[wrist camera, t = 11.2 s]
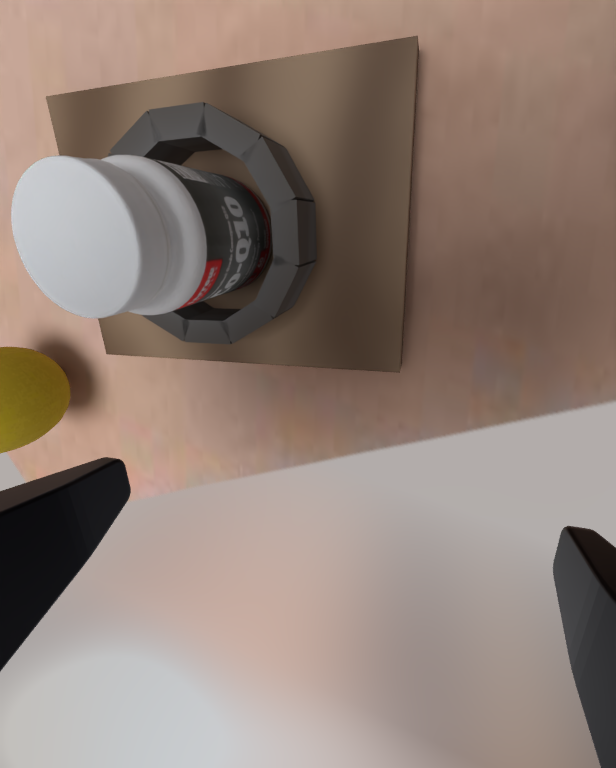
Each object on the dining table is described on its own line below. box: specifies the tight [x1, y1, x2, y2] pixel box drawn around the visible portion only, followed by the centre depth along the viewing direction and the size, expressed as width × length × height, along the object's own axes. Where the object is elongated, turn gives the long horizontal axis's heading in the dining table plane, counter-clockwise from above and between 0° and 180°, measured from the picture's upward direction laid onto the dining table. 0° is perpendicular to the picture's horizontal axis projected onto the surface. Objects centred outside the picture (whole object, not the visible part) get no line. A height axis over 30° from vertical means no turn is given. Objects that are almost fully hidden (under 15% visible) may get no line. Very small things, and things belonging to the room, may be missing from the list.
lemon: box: [0, 347, 70, 453], centre depth 22 cm, size 6×6×8 cm
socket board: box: [46, 36, 419, 373], centre depth 17 cm, size 16×12×4 cm
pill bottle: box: [11, 155, 272, 318], centre depth 14 cm, size 5×5×8 cm
